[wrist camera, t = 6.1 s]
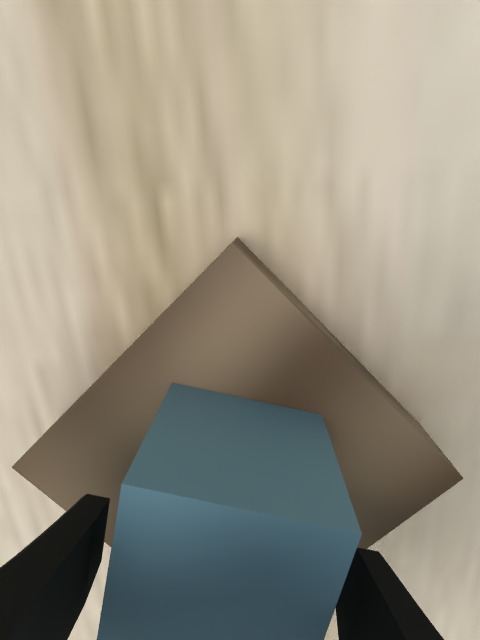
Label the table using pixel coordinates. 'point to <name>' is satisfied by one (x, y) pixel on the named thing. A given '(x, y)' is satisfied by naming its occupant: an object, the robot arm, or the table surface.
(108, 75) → the table surface
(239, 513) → the teal cube
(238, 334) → the plate
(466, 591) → the table surface
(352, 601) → the robot arm
